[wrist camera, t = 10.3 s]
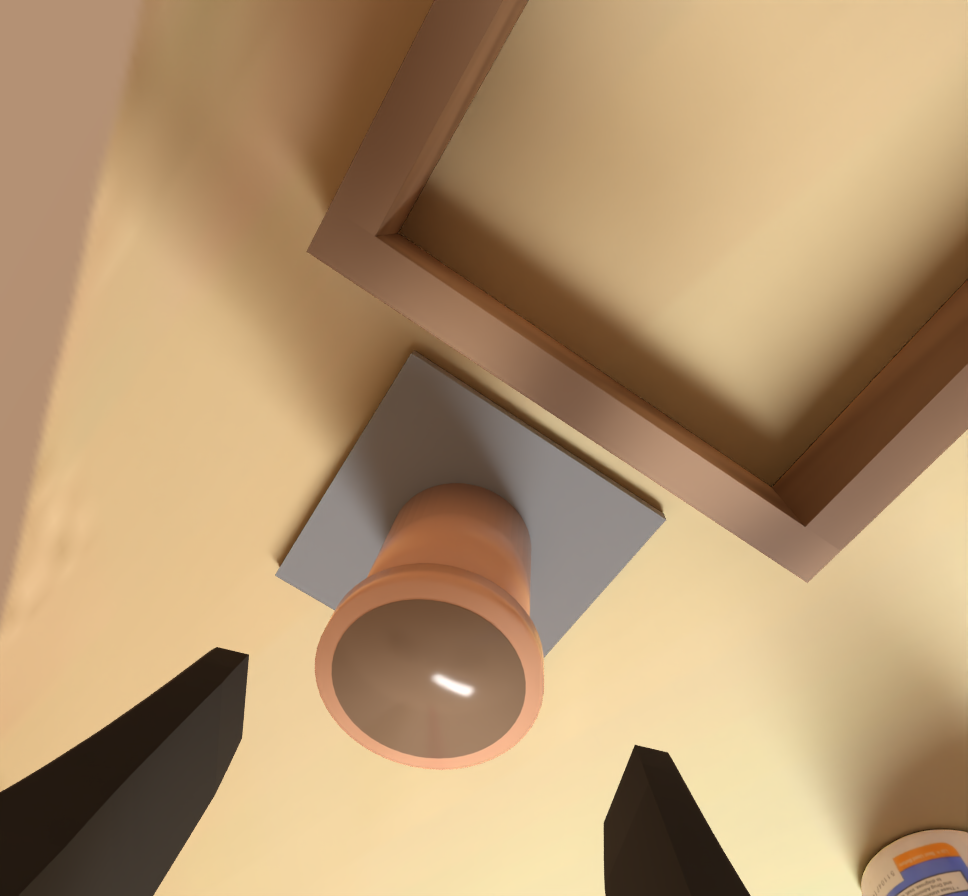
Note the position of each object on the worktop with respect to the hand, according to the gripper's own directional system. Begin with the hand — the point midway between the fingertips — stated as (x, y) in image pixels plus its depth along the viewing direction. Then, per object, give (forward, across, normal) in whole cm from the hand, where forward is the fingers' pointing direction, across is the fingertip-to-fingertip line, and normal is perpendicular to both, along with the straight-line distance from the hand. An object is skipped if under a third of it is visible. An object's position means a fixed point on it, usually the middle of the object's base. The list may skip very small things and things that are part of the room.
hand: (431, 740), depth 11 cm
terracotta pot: (+8, 0, +1) cm, 8 cm away
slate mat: (+9, 0, +1) cm, 9 cm away
